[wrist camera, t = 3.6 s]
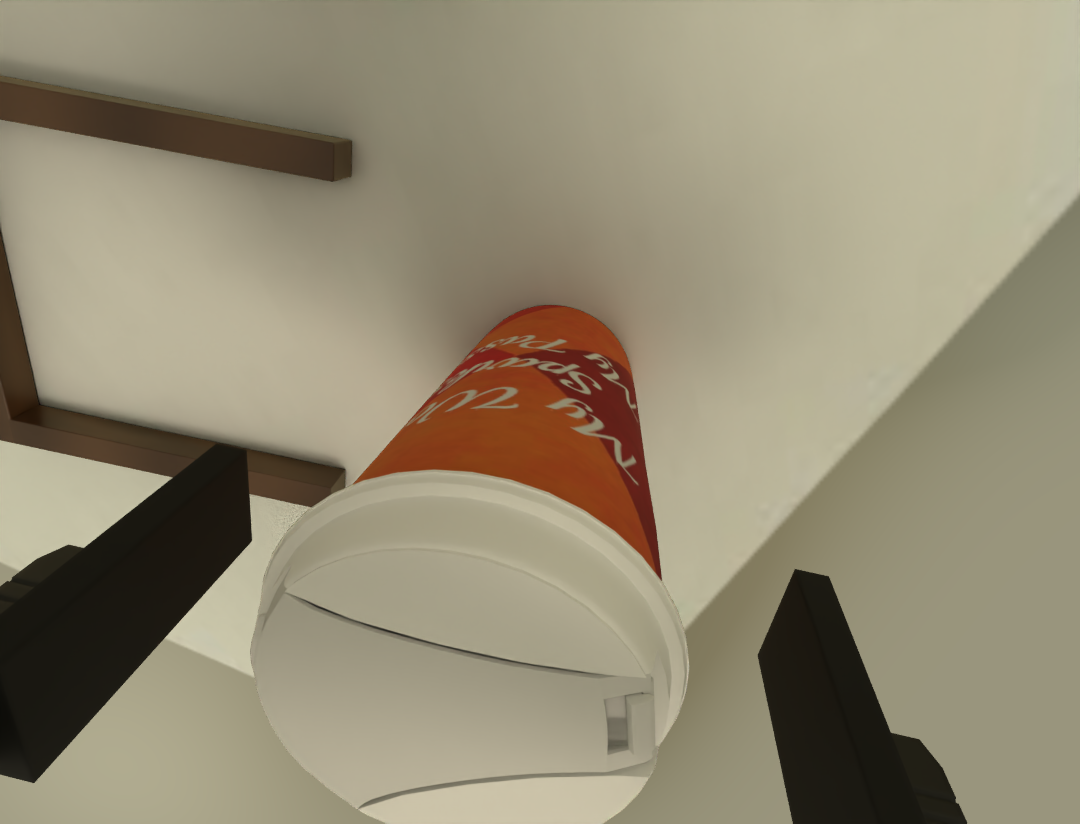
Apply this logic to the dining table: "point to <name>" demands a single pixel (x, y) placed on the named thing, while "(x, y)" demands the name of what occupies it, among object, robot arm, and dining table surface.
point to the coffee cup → (484, 599)
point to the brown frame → (3, 365)
